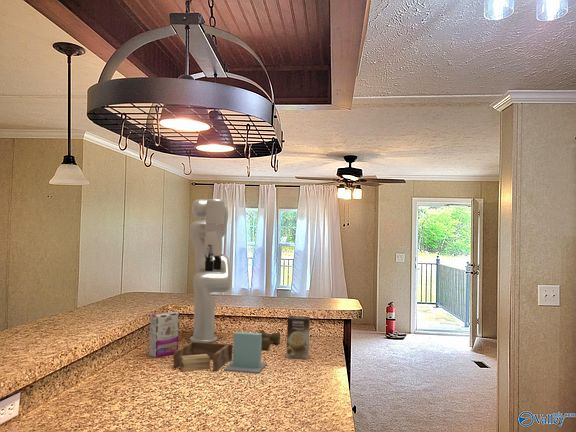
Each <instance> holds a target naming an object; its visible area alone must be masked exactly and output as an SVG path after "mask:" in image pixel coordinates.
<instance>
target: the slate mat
mask: <svg viewBox="0 0 576 432" xmlns="http://www.w3.org/2000/svg"><path fill="white" fill-rule="evenodd" d="M267 364H268V363H267V362H261V366H260V368H251V367H238V366H233V361H232V362H231V363H229V364H228V365H227V366H225V368H223V369H224V370H223V371H224V372H233V373H249V374H256V375H257V374H261V372H262V370H264V368H265V367H266V366H267Z"/></svg>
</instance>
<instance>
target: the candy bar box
mask: <svg viewBox="0 0 576 432" xmlns="http://www.w3.org/2000/svg"><path fill="white" fill-rule="evenodd" d="M149 317H150V318H149V319H150V320H149V350H148V351H149V355H148V356H149V357H152V358H155V359H158V358H162V357H166V356H170V355H174V351H176V350H177V349H179V334H180V333H179V332H180V331H179V328H180V313H179V312H176V311H167V312H162V313H155V314H150V316H149Z"/></svg>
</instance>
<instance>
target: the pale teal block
mask: <svg viewBox="0 0 576 432" xmlns="http://www.w3.org/2000/svg"><path fill="white" fill-rule="evenodd" d="M232 344H233V352H232V362H233V366H238V367H251V368H260V366H261V363H262V350H261V348H262V333H259V332H247V331H235V332H234V333H233V343H232Z"/></svg>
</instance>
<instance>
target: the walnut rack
mask: <svg viewBox="0 0 576 432" xmlns="http://www.w3.org/2000/svg"><path fill="white" fill-rule="evenodd" d="M200 354H207V355H208V356H209V357H210V360H213V361H212V372H215V371H216V372H217V371H218V370H220V369H221V368H222V367H224V365H226V364H227V363H228V362H231V361H232V362H233V343H232V344H231V343H218V342H217V343H216V342H208V343H205V342H192V341H190V340H189V341H188V342H187V343H185V344H184V345H183V346H181V347H178V349H177V350H176V351H174V354H173V369H178V368H180V364H182V361H181V356H188V355H200Z"/></svg>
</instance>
